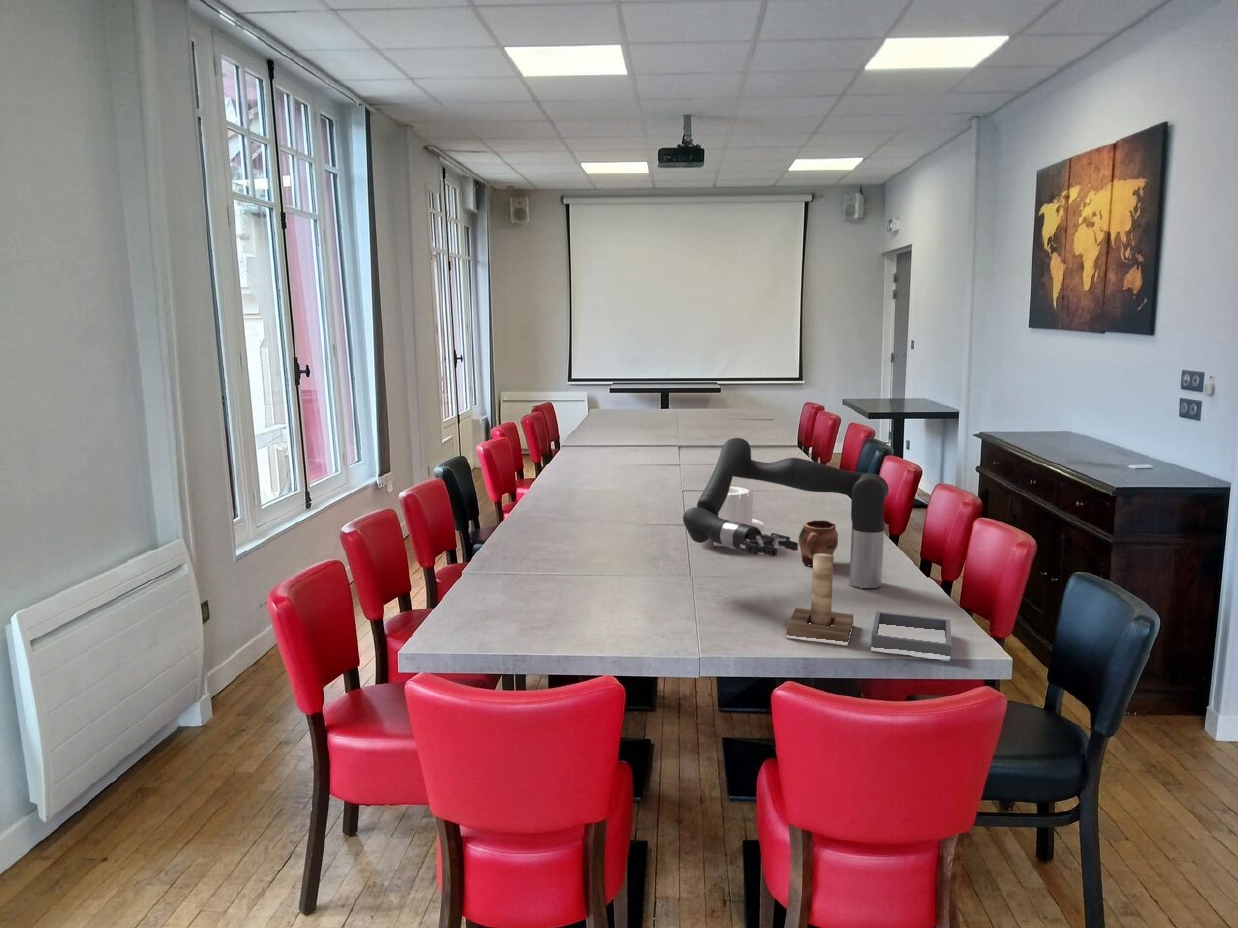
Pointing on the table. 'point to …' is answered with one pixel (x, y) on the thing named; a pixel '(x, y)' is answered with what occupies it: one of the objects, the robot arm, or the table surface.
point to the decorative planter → (817, 539)
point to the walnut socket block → (820, 626)
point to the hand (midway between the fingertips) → (786, 549)
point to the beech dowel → (822, 589)
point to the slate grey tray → (911, 644)
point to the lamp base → (739, 508)
